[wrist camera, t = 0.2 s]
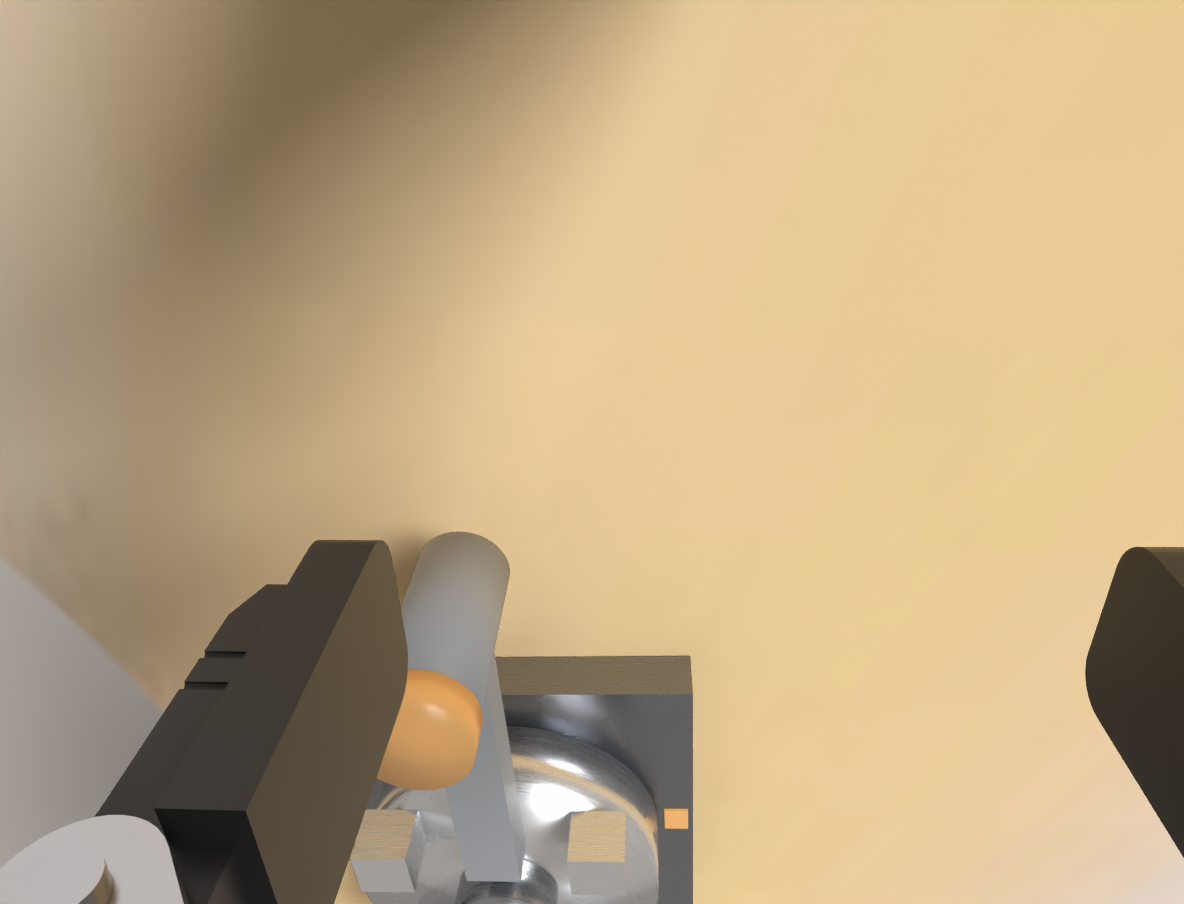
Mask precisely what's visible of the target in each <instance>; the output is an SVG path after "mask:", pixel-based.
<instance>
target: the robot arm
mask: <svg viewBox="0 0 1184 904" xmlns="http://www.w3.org/2000/svg"><path fill="white" fill-rule="evenodd" d="M407 673H408V649H407V641H406V635H405V630H404V624H403V619H402V613H401V607H400V602H399V596H398V591H397V585H396V580H395V574H394V568H393V563H392V558H391V553H390V550H389V548H388V546H387V544H386V543H385V542H384V541H382V540H317V541H315V542H314V543H313V544H312V545H311V546H310V548H309V549H308V551H307V552H306V554H305V556H304V557H303V559H302V561H301V563H300V564H299V566H298V568H297V569H296V571H295V573H294V574H293V576H292V578H291V579H290V581H289V583H288V584H287V585H272V584H267V585H266V586H264V587H263V588H262V589H261V590H259V591H258V592H257V593H256V594H254V595H253V596H252V597H251V598H249V599H248V600H247V601H245V602H244V603H243V604H242V605H240V606H239V607H238V608H237V609H235V610H234V611H233V612H232V613H230V614H229V615H228V616H227V618H226V620H225V621H224V623H223V624H222V626H221V627H220V629H219V630H218V632H217V633H216V635H215V636H214V638H213V639H212V641H211V642H210V644H209V645H208V647H207V648H206V650H205V657H204V658H200V659H199V660H198V662H197V663H196V665H195V666H194V668H193V669H192V671H191V672H190V674H189V675H188V677H187V678H186V680H185V687H184V689H179V691H178V692H177V694H176V695H175V697H174V698H173V700H172V701H171V703H170V704H169V706H168V707H167V709H166V710H165V712H164V713H163V715H162V716H161V718H160V719H159V721H158V722H157V724H156V726H155V727H154V729H153V730H152V731H151V733H150V734H149V736H148V737H147V739H146V740H145V742H144V743H143V745H142V747H141V748H140V750H139V751H138V753H137V754H136V756H135V757H134V759H133V760H132V762H131V763H130V765H129V766H128V768H127V769H126V771H125V772H124V774H123V775H122V777H121V778H120V780H119V781H118V783H117V784H116V786H115V787H114V789H113V790H112V792H111V793H110V795H109V796H108V798H107V800H106V801H105V803H104V804H103V805H102V807H101V808H100V810H99V811H98V813H97V814H96V815H95V817H92V818H89V819H85V820H81V821H78V822H75V823H72V824H70V825H67V826H64V827H62V828H59V829H57V830H55V831H54V832H51V833H49V834H47V835H45V836H44V837H42V838H40V839H39V840H37V841H35V842H34V843H32V844H31V845H29V846H27V847H26V848H24V849H23V850H22V851H20V852H19V853H18V854H17V855H15V856H14V857H13V858H11V859H10V860H9V861H8V862H7V863H6V864H5V865H4V866H2V867H1V868H0V904H334V902H335V899H336V896H337V893H338V890H339V887H340V884H341V881H342V878H343V875H344V872H345V869H346V866H347V863H348V860H349V857H350V855H351V852H352V849H353V846H354V843H355V840H356V837H357V834H358V831H359V828H360V825H361V822H362V819H363V816H364V813H365V810H366V807H367V804H368V801H369V798H370V795H371V793H372V790H373V787H374V784H375V781H376V778H377V775H378V772H379V769H380V766H381V763H382V760H383V757H384V754H385V751H386V748H387V745H388V742H389V739H390V736H391V734H392V731H393V728H394V725H395V722H396V719H397V716H398V713H399V710H400V707H401V704H402V701H403V697H404V693H405V688H406V682H407ZM1085 674H1086V686H1087V691H1088V696H1089V699H1090V703H1091V705H1092V708H1093V710H1094V712H1095V714H1096V716H1097V718H1098V720H1099V721H1100V723H1101V724H1102V726H1103V728H1104V729H1105V731H1106V733H1107V734H1108V736H1109V737H1110V739H1111V741H1112V742H1113V744H1114V746H1115V747H1116V749H1117V750H1118V752H1119V754H1120V755H1121V757H1122V759H1123V760H1124V762H1125V763H1126V765H1127V767H1128V768H1129V770H1130V771H1131V773H1132V775H1133V776H1134V778H1135V780H1136V781H1137V783H1138V784H1139V786H1140V788H1141V789H1142V791H1143V793H1144V794H1145V796H1146V797H1147V799H1148V801H1149V802H1150V804H1151V805H1152V807H1153V809H1154V810H1155V812H1156V814H1157V815H1158V817H1159V818H1160V820H1161V822H1162V823H1163V825H1164V827H1165V828H1166V830H1167V831H1168V833H1169V835H1170V836H1171V838H1172V840H1173V841H1174V843H1175V844H1176V846H1177V848H1178V849H1179V851H1180V852H1181V854H1182V856H1183V857H1184V547H1134V548H1131V549H1129V550H1128V551H1126V552H1125V553H1124V554H1123V555H1122V557H1121V559H1120V560H1119V563H1118V565H1117V568H1116V571H1115V574H1114V577H1113V580H1112V583H1111V586H1110V589H1109V592H1108V595H1107V598H1106V601H1105V604H1104V607H1103V610H1102V613H1101V616H1100V619H1099V622H1098V625H1097V628H1096V631H1095V634H1094V637H1093V640H1092V643H1091V646H1090V649H1089V652H1088V656H1087V660H1086V672H1085Z"/></svg>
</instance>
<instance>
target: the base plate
mask: <svg viewBox="0 0 1184 904" xmlns="http://www.w3.org/2000/svg"><path fill="white" fill-rule="evenodd" d="M495 660H496V666H497V672H498V678H499V684H500V690H501V696H502V702H503V708H504V714H505V720H506V726H522V727H530V728H537V729H543V730H548V731H552V732H557V733H561V734H564V735H567V736H570V737H573V738H576V739H579V740H582V741H584V742H586V743H589V744H591V745H593V746H596V747H597V748H599V749H601V750H603V751H605V752H606V753H608V754H610V755H612V756H613V757H614V758H616V759H617V760H619V761H620V762H621V763H623V764H624V765H625V766H626V767H628V768H629V769H630V770H631V771H632V772H633V773H634V774H635V775H636V776H637V777H638V778H639V780H640V781H641V782H642V783H643V785H644V786H645V787H646V789H647V791H648V793H649V794H650V796H651V798H652V800H653V803H654V806H655V809H656V814H657V821H658V880H659V891H658V902H657V904H693V691H692V676H691V660H690V656H633V657H495ZM383 784H384V781H382V780H380V779H378V778H376V781H375V784H374V787H373V790H372V793H371V795H370V798H369V801H368V804H367V807H366V809H372V810H376V806H377V803H378V800H379V796H380V793H381V790H382V787H383ZM360 826H361V825H360ZM359 829H360V828H359ZM358 832H359V831H358ZM357 835H358V834H357Z"/></svg>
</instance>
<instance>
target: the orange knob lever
mask: <svg viewBox="0 0 1184 904" xmlns="http://www.w3.org/2000/svg"><path fill="white" fill-rule="evenodd" d="M509 575H510V569H509V564H508V561H507V559H506V557H505V555H504V554H503V552H502V551H501V550H500V549H499V548H498V547H497V546H496V545H495V544H494V543H492V542H491V541H489V540H488V539H486V538H484V537H482V536H479V535H476V534H472V533H467V532H450V533H445V534H442V535H439V536H437V537H435V538H433V539H432V540H430V541H429V542H428V543H427V544H426V545H425V546H424V547H423V549H422V551H421V553H420V556H419V558H418V561H417V564H416V567H415V569H414V572H413V575H412V578H411V580H410V583H409V586H408V589H407V591H406V594H405V597H404V600H403V602H402V605H401V613H402V619H403V624H404V630H405V635H406V641H407V649H408V673H407V682H406V688H405V693H404V697H403V701H402V704H401V707H400V710H399V713H398V716H397V719H396V722H395V725H394V728H393V731H392V734H391V736H390V739H389V742H388V745H387V748H386V751H385V754H384V757H383V760H382V763H381V766H380V769H379V772H378V775H377V778H378V779H380V780H382V781H384V784H383V787H382V790H381V793H380V796H379V800H378V803H377V806H376V810H372V809H366V810H365V813H364V816H363V819H362V822H361V826H360V829H359V832H358V835H357V838H356V841H355V844H354V848H353V851H352V854H351V857H350V861H351V864H352V867H353V869H354V872H355V875H356V878H357V881H358V884H359V887H360V889H361V892H366V893H367V895H368V897H369V898H370V900H371V901H372V903H373V904H657V902H658V891H659V880H658V821H657V814H656V809H655V806H654V803H653V800H652V798H651V796H650V794H649V793H648V791H647V789H646V787H645V786H644V785H643V783H642V782H641V781H640V780H639V778H638V777H637V776H636V775H635V774H634V773H633V772H632V771H631V770H630V769H629V768H628V767H626V766H625V765H624V764H623V763H621V762H620V761H619V760H617V759H616V758H614V757H613V756H612V755H610V754H608V753H606V752H605V751H603V750H601V749H599V748H597V747H596V746H593V745H591V744H589V743H586V742H584V741H582V740H579V739H576V738H573V737H570V736H567V735H564V734H561V733H557V732H552V731H548V730H543V729H537V728H530V727H522V726H506V720H505V714H504V708H503V702H502V696H501V690H500V684H499V678H498V672H497V666H496V660H495V654H494V647H495V643H496V638H497V633H498V628H499V624H500V619H501V614H502V609H503V605H504V600H505V595H506V590H507V586H508V581H509Z"/></svg>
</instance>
